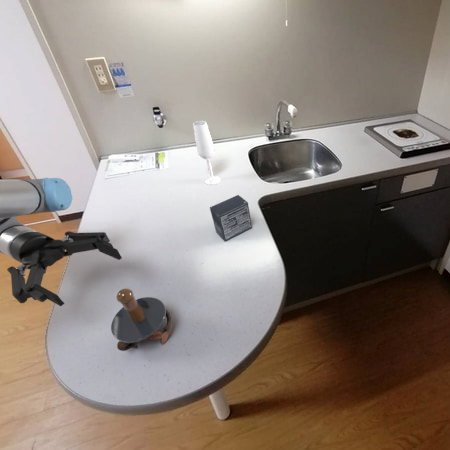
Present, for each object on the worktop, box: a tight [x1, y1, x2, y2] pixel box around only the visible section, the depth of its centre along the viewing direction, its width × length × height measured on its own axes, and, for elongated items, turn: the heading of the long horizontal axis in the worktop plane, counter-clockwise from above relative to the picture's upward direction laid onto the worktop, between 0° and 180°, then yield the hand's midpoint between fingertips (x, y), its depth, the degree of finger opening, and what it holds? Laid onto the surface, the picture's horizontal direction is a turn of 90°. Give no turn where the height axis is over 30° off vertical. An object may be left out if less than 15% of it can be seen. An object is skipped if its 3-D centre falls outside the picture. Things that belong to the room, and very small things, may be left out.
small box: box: [209, 194, 253, 242], centre depth 98 cm, size 11×6×10 cm, turn 130°
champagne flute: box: [192, 120, 222, 186], centre depth 117 cm, size 7×7×24 cm
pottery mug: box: [116, 309, 173, 352], centre depth 70 cm, size 12×10×8 cm
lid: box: [110, 287, 167, 343], centre depth 64 cm, size 11×11×10 cm
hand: (91, 276), depth 64 cm, fingers open, 13 cm apart
